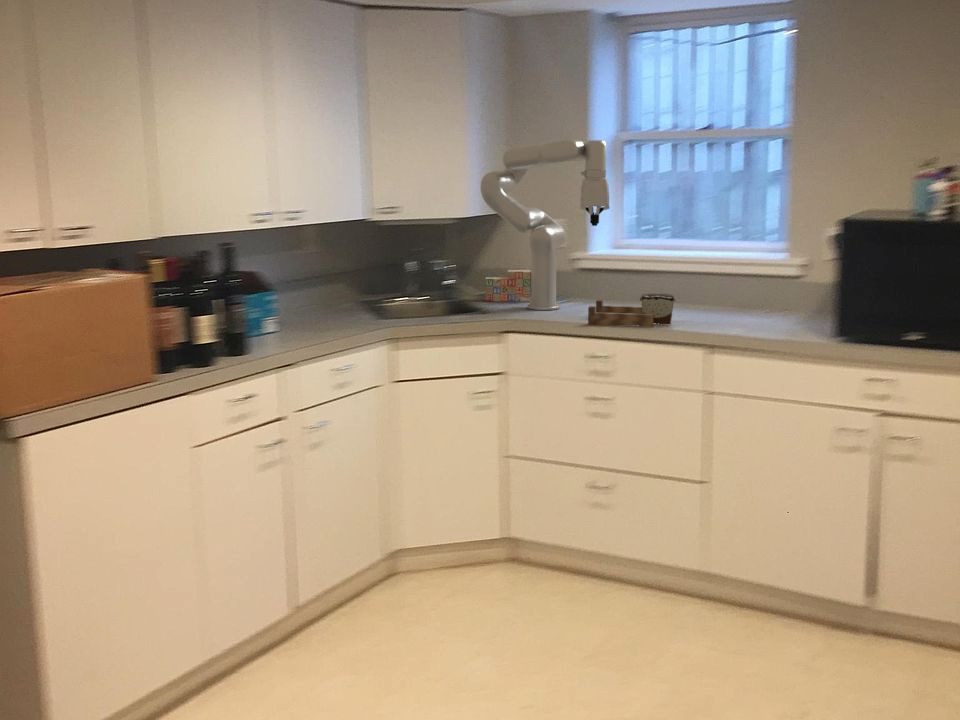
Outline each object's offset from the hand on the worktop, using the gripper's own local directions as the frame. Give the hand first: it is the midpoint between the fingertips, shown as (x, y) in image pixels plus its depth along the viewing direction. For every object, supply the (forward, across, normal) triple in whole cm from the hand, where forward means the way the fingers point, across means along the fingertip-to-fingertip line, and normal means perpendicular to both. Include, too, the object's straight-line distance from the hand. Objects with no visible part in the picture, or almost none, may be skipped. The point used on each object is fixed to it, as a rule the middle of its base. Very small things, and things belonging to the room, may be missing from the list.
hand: (594, 225), depth 367 cm
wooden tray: (+32, +14, -20) cm, 40 cm away
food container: (+32, +26, -21) cm, 46 cm away
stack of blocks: (+32, -37, +24) cm, 55 cm away
